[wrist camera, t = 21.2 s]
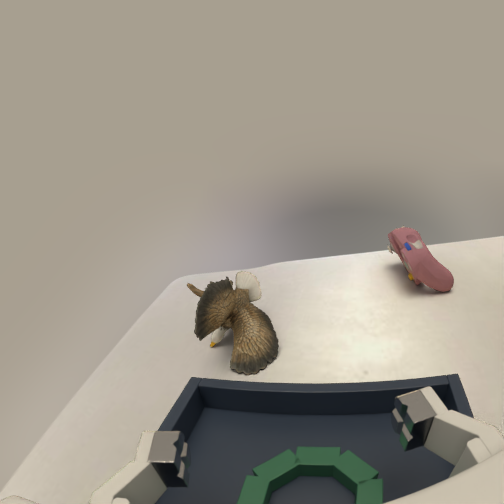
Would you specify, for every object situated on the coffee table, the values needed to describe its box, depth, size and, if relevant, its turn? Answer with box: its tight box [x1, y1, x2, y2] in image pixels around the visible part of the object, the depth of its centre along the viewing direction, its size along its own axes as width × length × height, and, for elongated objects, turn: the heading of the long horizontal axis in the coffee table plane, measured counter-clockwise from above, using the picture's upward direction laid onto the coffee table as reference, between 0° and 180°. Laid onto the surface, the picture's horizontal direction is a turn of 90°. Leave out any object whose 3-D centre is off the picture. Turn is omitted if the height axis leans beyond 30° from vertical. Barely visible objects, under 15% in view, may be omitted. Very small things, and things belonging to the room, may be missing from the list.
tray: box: [155, 374, 474, 504], centre depth 11 cm, size 17×15×2 cm
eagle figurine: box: [187, 271, 279, 375], centre depth 26 cm, size 8×7×9 cm
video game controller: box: [388, 226, 454, 292], centre depth 32 cm, size 10×5×7 cm, turn 171°
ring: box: [237, 446, 383, 504], centre depth 11 cm, size 6×6×1 cm
